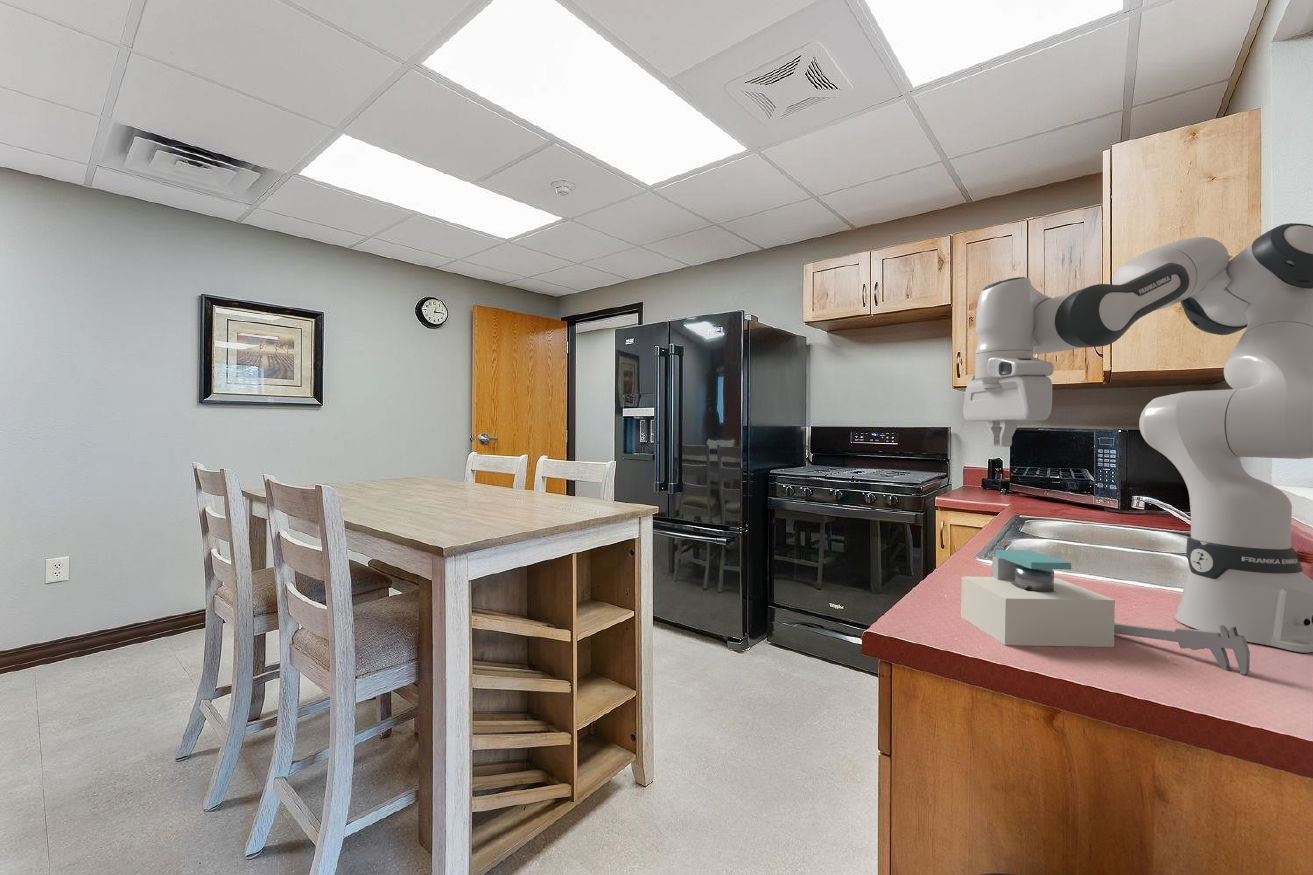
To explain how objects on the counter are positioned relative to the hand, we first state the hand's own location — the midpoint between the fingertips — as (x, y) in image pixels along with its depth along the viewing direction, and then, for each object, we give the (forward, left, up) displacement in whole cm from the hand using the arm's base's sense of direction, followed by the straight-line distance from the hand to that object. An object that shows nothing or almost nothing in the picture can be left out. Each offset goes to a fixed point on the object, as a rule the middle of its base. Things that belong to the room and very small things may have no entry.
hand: (1001, 446), depth 98 cm
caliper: (-12, +18, -30) cm, 36 cm away
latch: (+2, +11, -18) cm, 22 cm away
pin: (+2, +12, -29) cm, 31 cm away
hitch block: (+2, +12, -29) cm, 32 cm away
